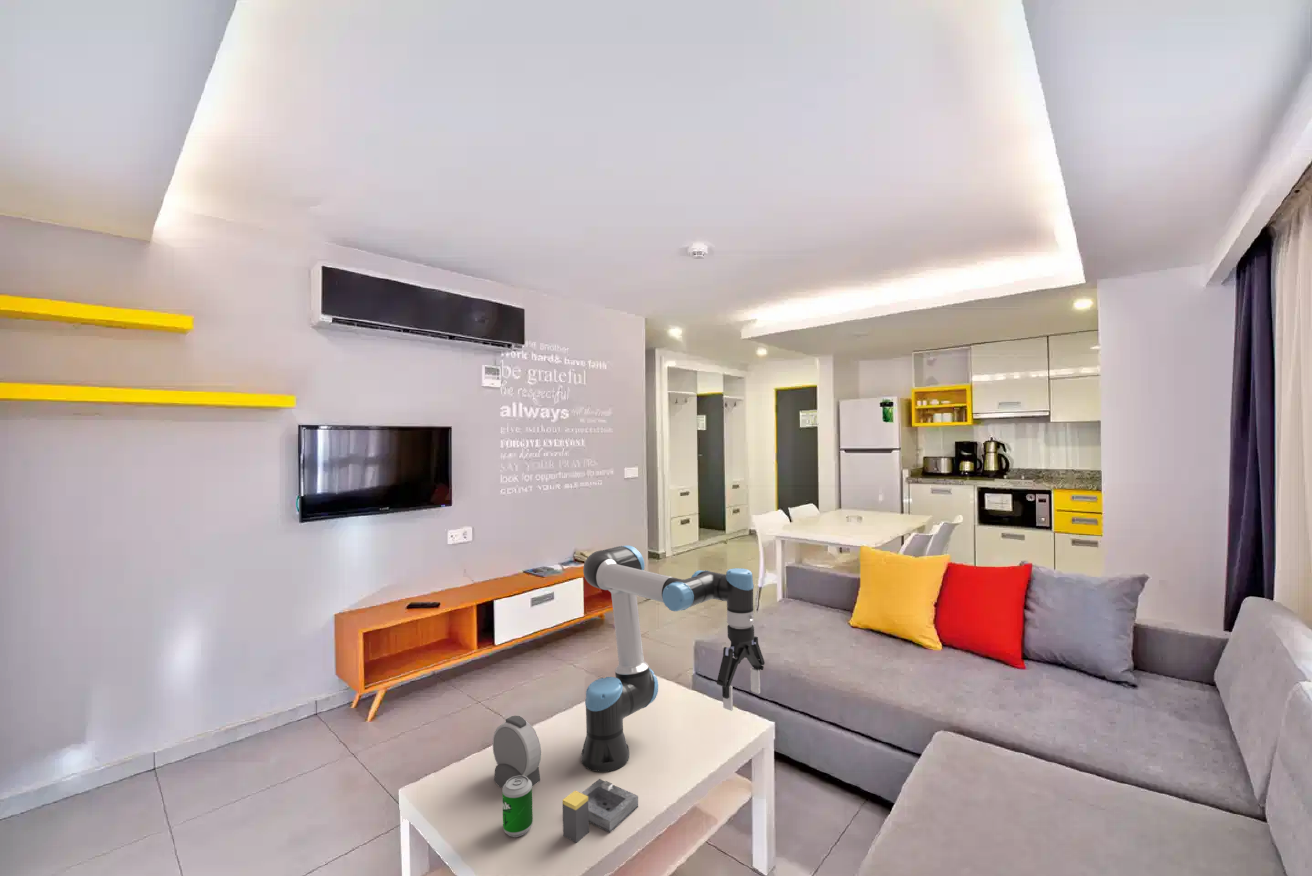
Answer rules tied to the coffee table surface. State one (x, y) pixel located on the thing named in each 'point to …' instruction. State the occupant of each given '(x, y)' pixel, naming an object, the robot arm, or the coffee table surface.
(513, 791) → the soda can
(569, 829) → the plug
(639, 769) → the coffee table surface
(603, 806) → the socket plate
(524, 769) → the alarm clock
